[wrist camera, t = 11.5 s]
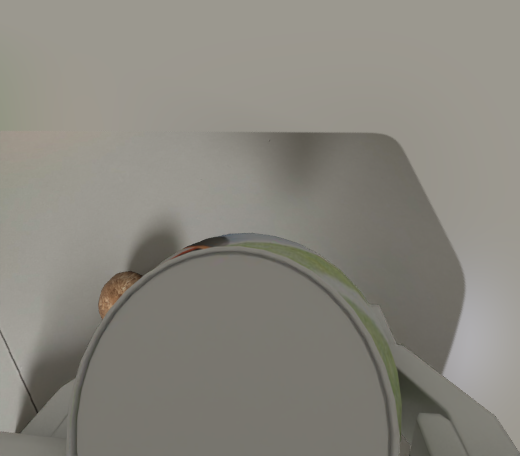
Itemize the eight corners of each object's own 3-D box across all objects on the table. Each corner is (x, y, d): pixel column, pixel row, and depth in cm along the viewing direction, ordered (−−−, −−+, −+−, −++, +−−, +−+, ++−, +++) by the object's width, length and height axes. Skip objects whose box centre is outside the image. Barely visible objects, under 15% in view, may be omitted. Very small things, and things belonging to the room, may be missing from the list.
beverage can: (275, 256, 16) (197, 109, 6) (371, 347, 13) (605, 413, 3) (204, 327, 16) (-48, 319, 5) (289, 440, 13) (137, 1102, 2)
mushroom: (162, 250, 29) (109, 270, 23) (194, 312, 29) (148, 346, 23) (129, 273, 33) (77, 294, 28) (156, 327, 33) (109, 359, 27)
